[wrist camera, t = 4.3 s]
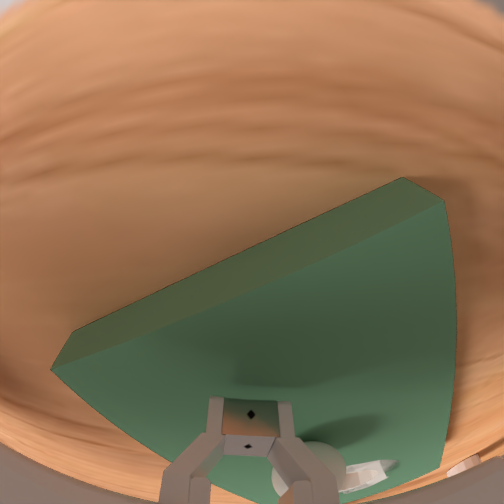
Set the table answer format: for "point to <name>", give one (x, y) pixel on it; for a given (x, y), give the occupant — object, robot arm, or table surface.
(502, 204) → the table surface
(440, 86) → the table surface
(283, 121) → the table surface
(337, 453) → the ball
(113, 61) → the table surface
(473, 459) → the white cup
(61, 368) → the green rectangular slab
